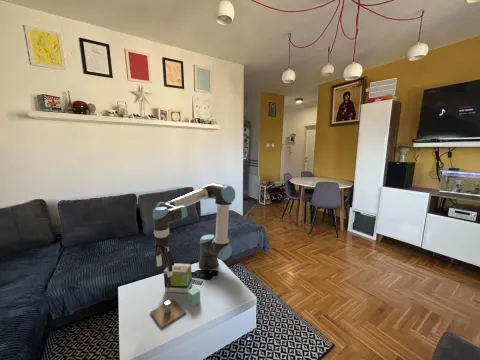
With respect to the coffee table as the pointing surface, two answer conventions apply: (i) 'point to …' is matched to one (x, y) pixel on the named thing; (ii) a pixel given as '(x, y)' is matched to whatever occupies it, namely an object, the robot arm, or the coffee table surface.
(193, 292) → the pale green upright block
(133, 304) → the coffee table surface
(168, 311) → the post
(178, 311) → the board
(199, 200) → the robot arm
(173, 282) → the tea box
